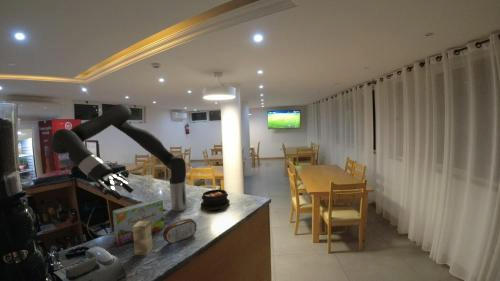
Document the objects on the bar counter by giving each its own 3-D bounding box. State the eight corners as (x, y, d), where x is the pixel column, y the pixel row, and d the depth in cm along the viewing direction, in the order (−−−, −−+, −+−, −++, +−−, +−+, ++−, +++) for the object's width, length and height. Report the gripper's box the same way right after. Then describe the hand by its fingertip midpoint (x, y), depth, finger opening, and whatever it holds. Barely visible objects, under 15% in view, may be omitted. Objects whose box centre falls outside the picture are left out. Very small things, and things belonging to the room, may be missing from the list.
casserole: (233, 210, 130) (232, 196, 130) (201, 215, 126) (200, 200, 125) (226, 197, 154) (226, 185, 154) (200, 201, 150) (199, 189, 149)
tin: (195, 232, 105) (194, 215, 104) (198, 234, 103) (197, 217, 102) (163, 244, 95) (162, 226, 95) (165, 247, 93) (164, 228, 92)
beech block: (135, 255, 88) (132, 226, 88) (141, 248, 93) (138, 221, 92) (147, 254, 88) (144, 226, 88) (152, 247, 93) (150, 220, 93)
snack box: (118, 246, 96) (115, 213, 95) (115, 242, 100) (111, 210, 99) (165, 228, 111) (162, 199, 110) (160, 225, 115) (158, 197, 114)
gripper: (101, 171, 95) (130, 195, 96) (76, 179, 81) (110, 208, 82) (112, 159, 95) (141, 183, 96) (89, 165, 80) (122, 193, 81)
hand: (126, 194), depth 89 cm, fingers open, 8 cm apart
